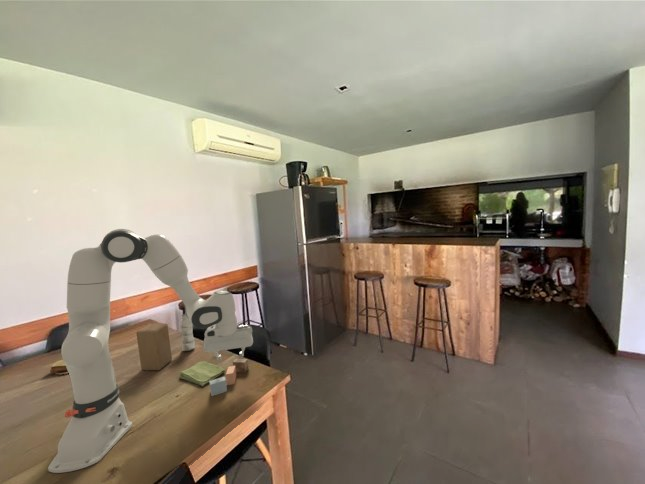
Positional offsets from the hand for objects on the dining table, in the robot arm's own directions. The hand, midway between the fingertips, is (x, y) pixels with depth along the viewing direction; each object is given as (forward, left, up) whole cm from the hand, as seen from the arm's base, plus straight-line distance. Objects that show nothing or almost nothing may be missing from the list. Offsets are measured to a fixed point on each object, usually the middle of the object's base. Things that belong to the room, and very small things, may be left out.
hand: (230, 357), depth 120 cm
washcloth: (+8, +15, -11) cm, 20 cm away
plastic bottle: (+36, +29, -10) cm, 47 cm away
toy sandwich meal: (+31, +85, -11) cm, 91 cm away
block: (+23, +40, -10) cm, 48 cm away
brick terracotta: (0, 0, -10) cm, 10 cm away
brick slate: (-7, +4, -10) cm, 13 cm away
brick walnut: (+7, -3, -10) cm, 13 cm away
